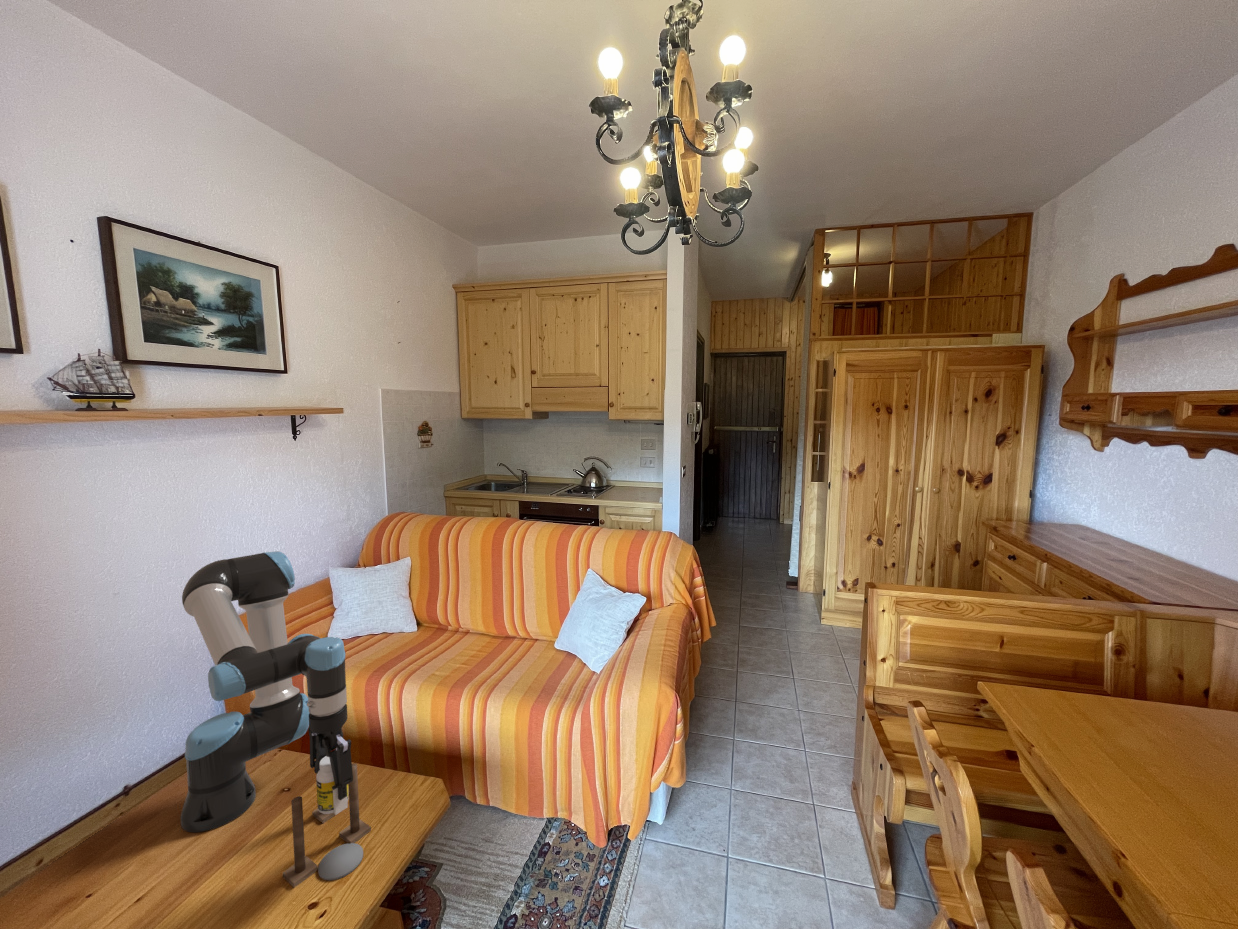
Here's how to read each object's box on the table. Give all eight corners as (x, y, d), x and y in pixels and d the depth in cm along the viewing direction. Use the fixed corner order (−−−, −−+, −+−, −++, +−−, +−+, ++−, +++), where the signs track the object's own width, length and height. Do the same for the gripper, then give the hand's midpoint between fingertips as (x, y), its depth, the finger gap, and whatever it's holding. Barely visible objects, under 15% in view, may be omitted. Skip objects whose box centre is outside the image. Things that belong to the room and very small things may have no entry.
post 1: (282, 877, 108) (278, 802, 106) (306, 859, 112) (303, 788, 111) (294, 888, 105) (290, 812, 104) (318, 870, 109) (314, 796, 108)
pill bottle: (311, 813, 109) (308, 766, 109) (332, 793, 115) (330, 748, 115) (334, 817, 108) (332, 770, 107) (355, 796, 114) (352, 752, 113)
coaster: (310, 868, 110) (310, 865, 110) (349, 839, 117) (349, 837, 117) (331, 887, 105) (331, 885, 105) (371, 856, 113) (371, 854, 113)
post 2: (312, 815, 125) (309, 750, 124) (332, 802, 129) (329, 740, 128) (322, 823, 122) (319, 757, 121) (342, 810, 126) (339, 746, 125)
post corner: (339, 836, 118) (336, 768, 117) (359, 822, 123) (356, 756, 121) (351, 845, 116) (348, 776, 114) (370, 830, 120) (368, 763, 119)
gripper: (288, 703, 112) (293, 798, 113) (334, 730, 102) (339, 833, 103) (322, 689, 118) (326, 779, 120) (368, 712, 108) (372, 810, 110)
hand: (332, 804), depth 112 cm, fingers closed on pill bottle, 6 cm apart
